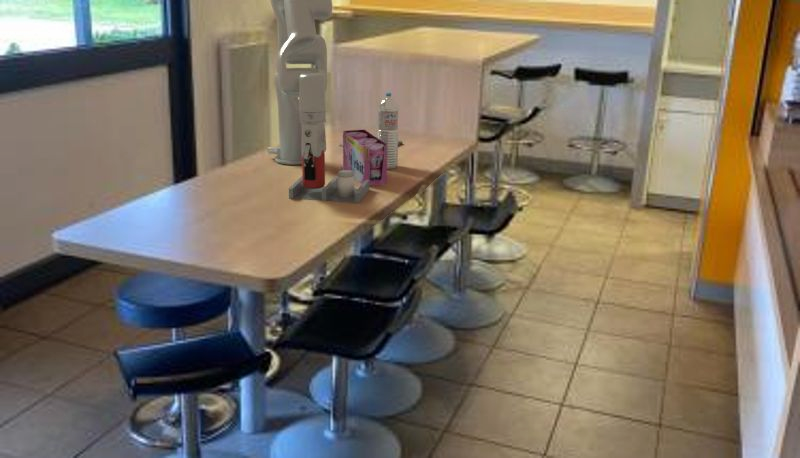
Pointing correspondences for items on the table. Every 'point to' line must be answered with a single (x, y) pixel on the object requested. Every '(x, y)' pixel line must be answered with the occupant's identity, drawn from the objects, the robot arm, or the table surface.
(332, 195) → the organizer
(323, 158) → the beer can
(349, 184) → the shaker
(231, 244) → the table surface
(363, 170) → the gum box
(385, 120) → the water bottle
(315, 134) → the robot arm
